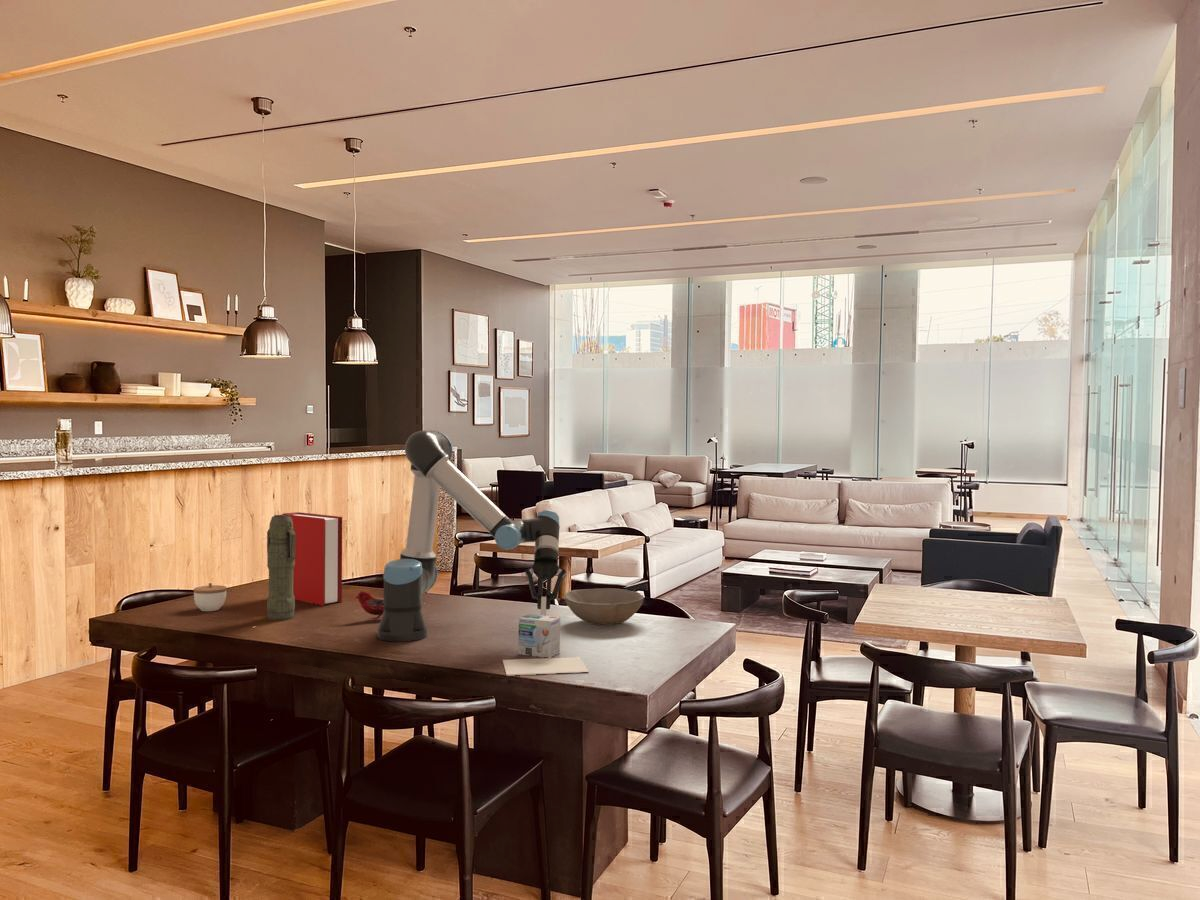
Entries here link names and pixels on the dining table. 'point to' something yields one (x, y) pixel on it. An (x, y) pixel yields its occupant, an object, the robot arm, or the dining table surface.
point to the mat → (544, 666)
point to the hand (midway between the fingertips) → (543, 617)
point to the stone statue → (281, 568)
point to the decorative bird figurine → (371, 604)
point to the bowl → (604, 605)
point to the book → (317, 558)
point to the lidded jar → (210, 597)
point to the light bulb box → (539, 635)
